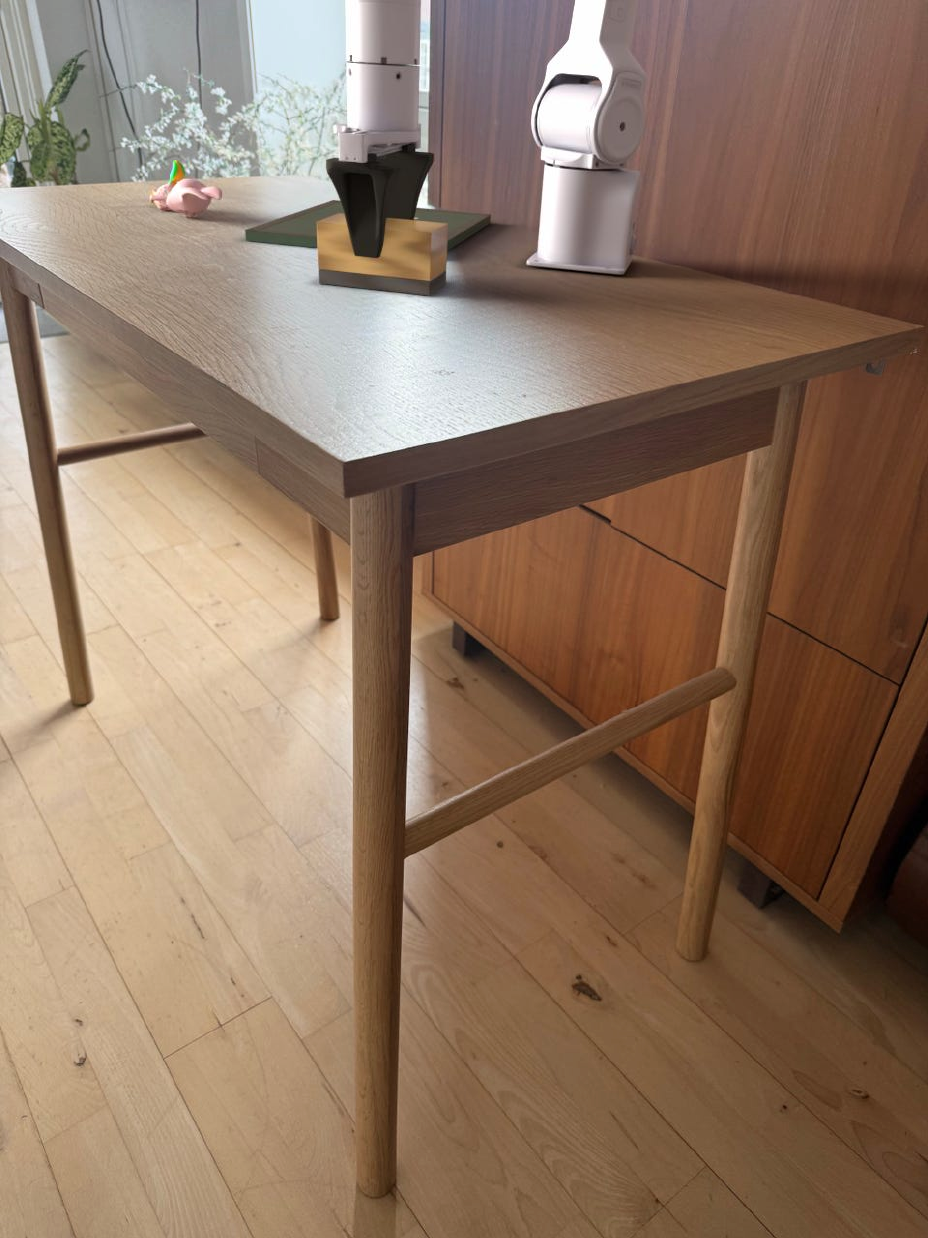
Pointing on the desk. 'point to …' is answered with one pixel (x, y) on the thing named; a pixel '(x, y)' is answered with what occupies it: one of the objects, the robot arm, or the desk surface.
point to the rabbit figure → (184, 194)
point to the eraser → (385, 257)
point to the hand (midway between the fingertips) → (382, 248)
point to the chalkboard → (304, 223)
